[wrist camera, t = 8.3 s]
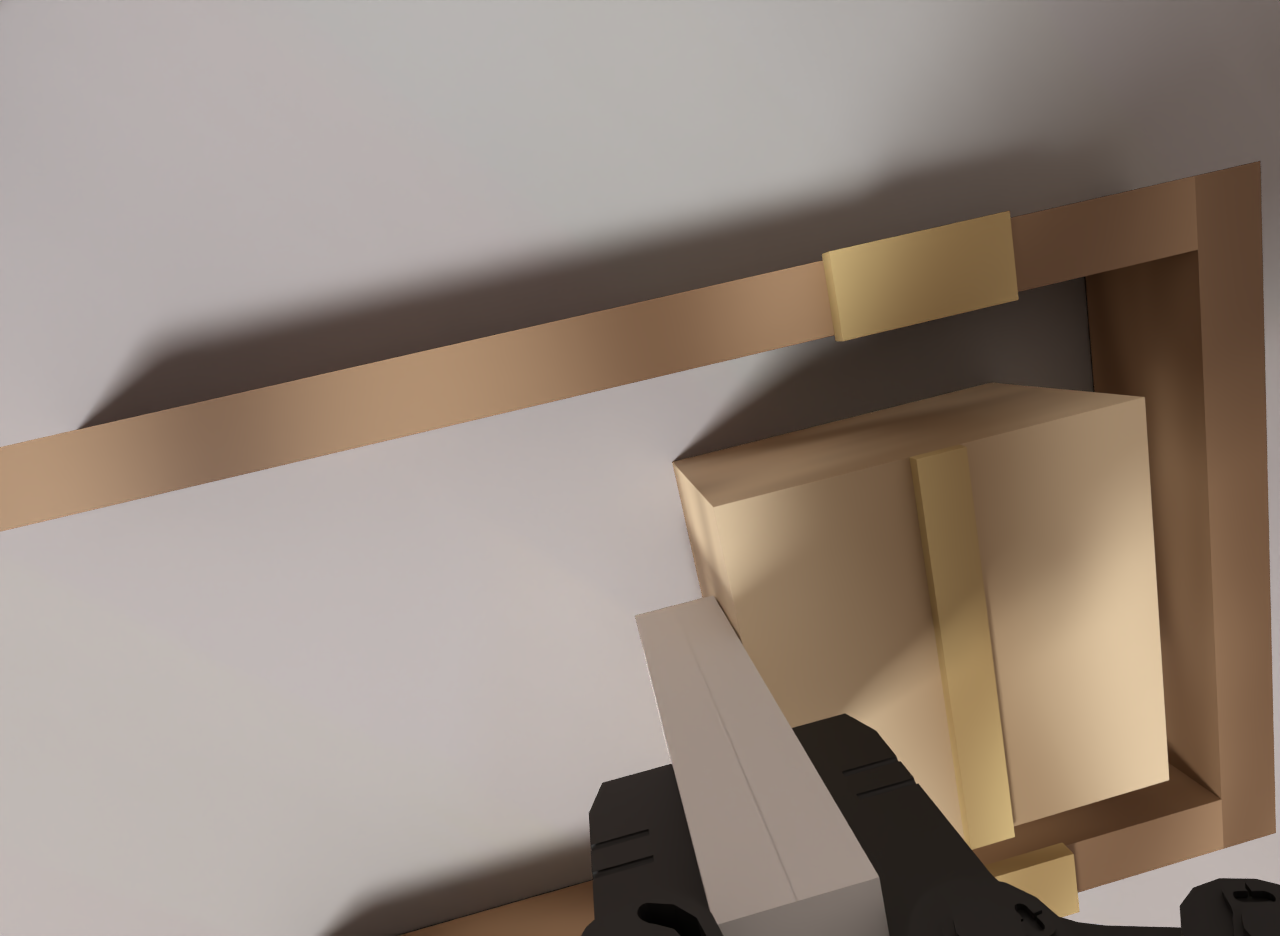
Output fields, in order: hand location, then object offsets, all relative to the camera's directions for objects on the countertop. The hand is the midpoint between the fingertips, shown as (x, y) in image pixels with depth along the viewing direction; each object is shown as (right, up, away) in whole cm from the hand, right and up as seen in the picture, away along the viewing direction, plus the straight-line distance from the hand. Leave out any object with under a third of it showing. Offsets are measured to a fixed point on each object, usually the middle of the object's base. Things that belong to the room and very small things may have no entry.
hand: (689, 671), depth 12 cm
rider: (+4, +1, +2) cm, 5 cm away
